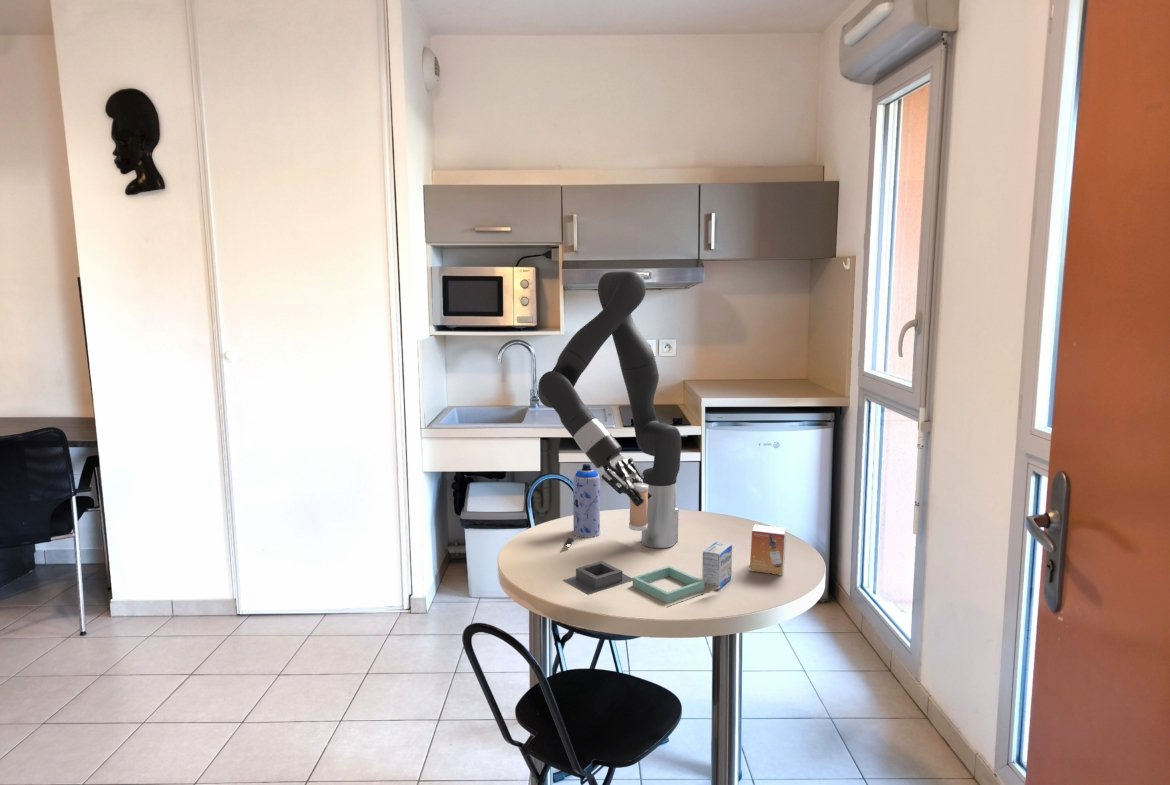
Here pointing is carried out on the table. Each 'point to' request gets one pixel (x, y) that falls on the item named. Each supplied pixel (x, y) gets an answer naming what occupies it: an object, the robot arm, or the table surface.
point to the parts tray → (692, 588)
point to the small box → (768, 549)
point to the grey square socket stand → (597, 578)
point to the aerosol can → (586, 502)
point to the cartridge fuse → (639, 509)
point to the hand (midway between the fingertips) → (644, 500)
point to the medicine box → (717, 564)
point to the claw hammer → (568, 541)
